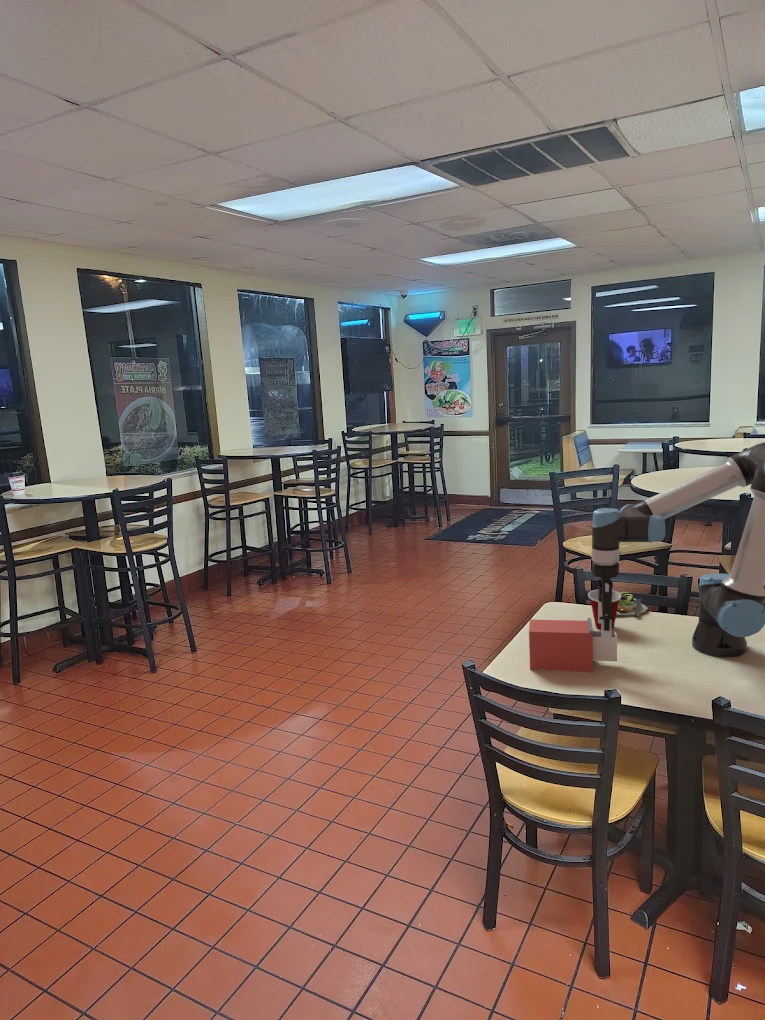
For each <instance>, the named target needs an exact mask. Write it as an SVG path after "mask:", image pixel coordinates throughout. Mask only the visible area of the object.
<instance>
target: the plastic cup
mask: <svg viewBox="0 0 765 1020" xmlns="http://www.w3.org/2000/svg"><path fill="white" fill-rule="evenodd" d="M619 592H620V591H617V590H613V589H612V617H613V619H612V630H614V627H615V622H616V619H617V617H616V614H618V611H617V609H618V604H619V601H620V599H621V596H622V595H621V594H620V593H619ZM587 597H588V599H589V601H590V604H591V610H592V614H593V620H594V625H595V628H596V629H597V630H600V631H601V623H598V602H600V601H598V598H599V597H598V588H597V589H593V590H591V591H588V593H587Z"/></svg>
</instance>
